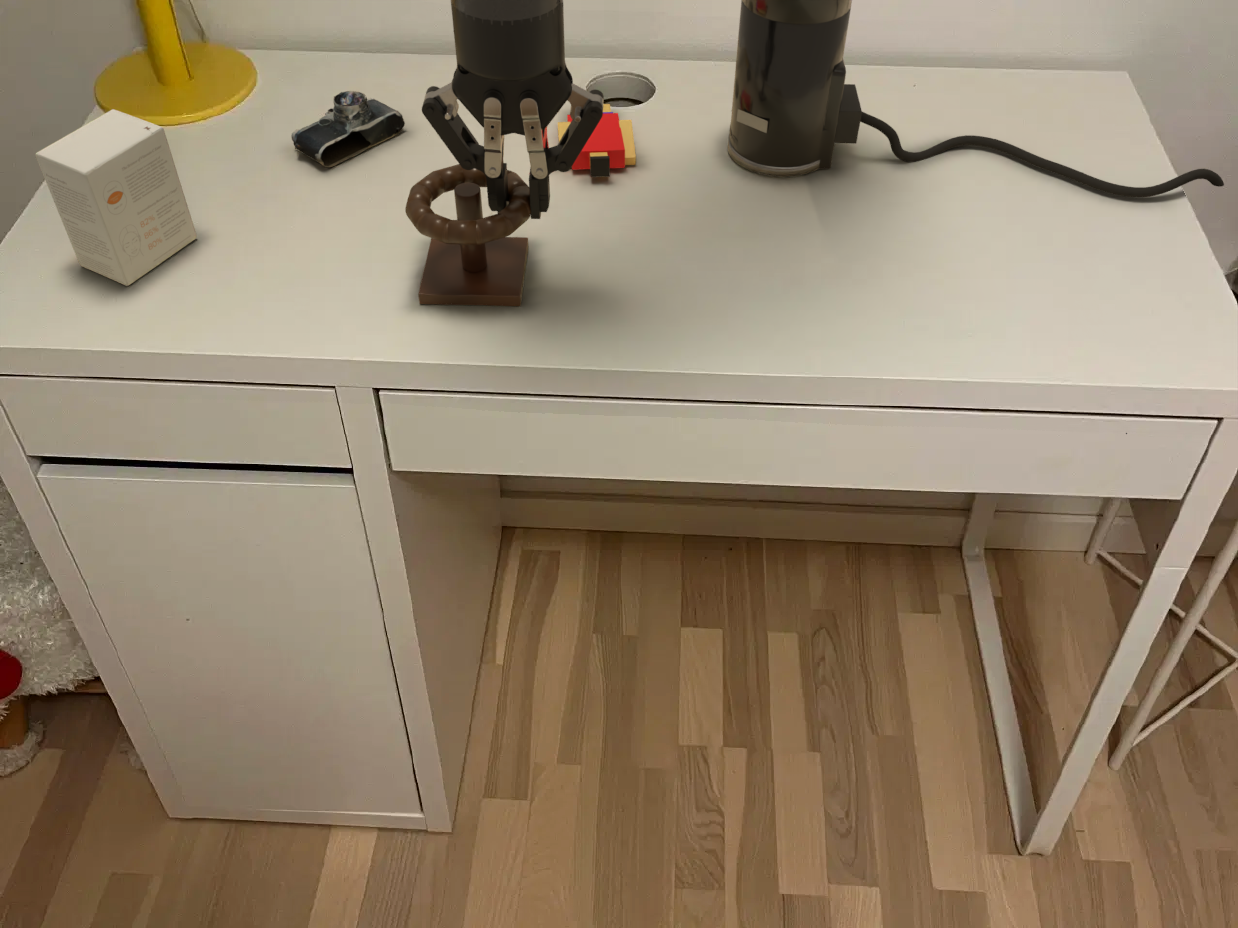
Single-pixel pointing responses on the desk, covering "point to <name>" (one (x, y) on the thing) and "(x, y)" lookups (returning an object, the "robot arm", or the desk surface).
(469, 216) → the post
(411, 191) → the ring
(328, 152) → the camera
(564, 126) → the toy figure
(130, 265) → the small box
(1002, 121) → the desk surface
